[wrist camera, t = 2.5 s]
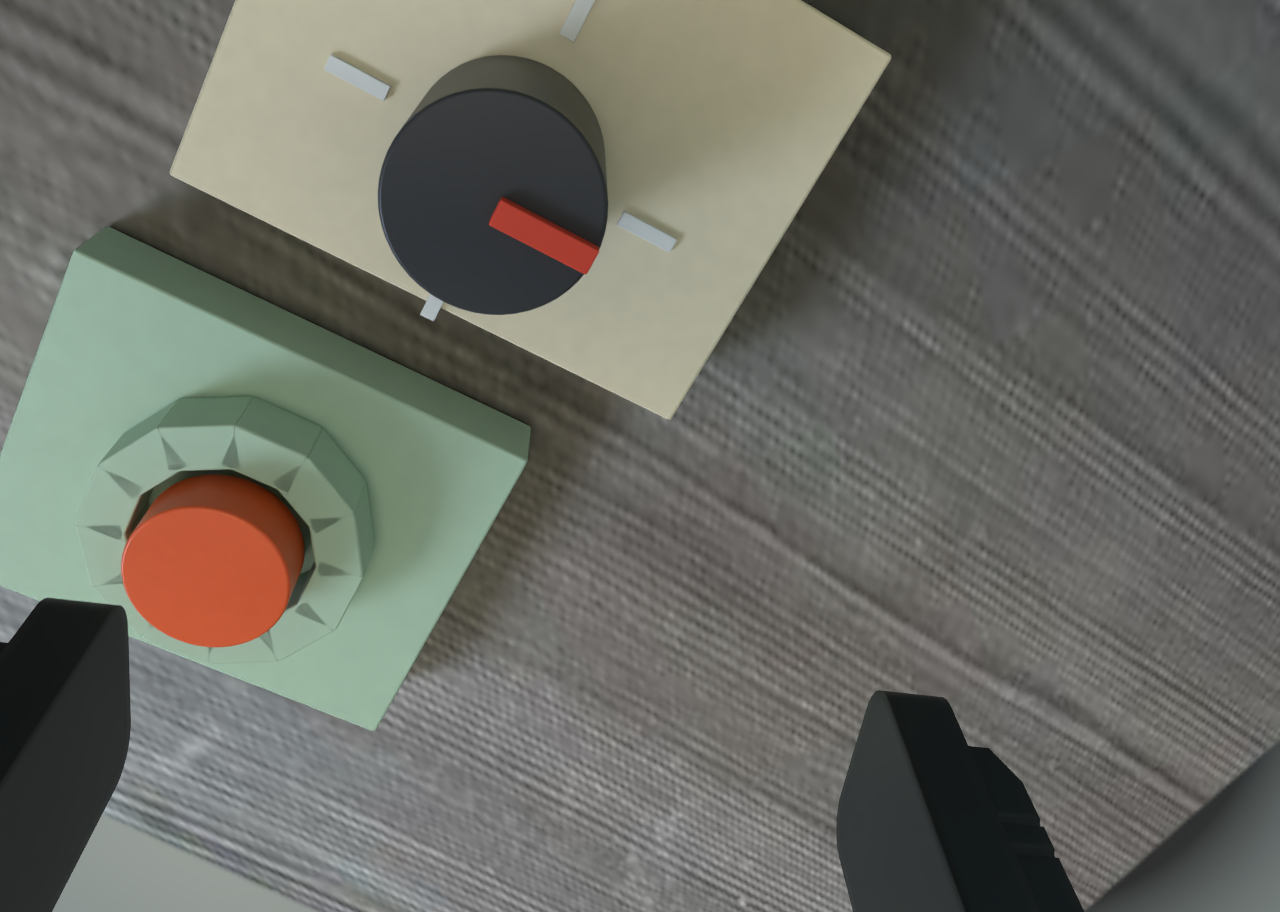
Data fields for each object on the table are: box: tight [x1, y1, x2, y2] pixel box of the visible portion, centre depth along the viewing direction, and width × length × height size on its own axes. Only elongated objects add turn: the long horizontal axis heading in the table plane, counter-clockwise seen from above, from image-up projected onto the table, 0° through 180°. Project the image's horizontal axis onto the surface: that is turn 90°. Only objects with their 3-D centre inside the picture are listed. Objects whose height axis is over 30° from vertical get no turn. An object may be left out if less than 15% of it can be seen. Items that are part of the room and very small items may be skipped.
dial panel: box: [170, 0, 891, 420], centre depth 28 cm, size 13×10×3 cm
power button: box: [121, 474, 305, 647], centre depth 30 cm, size 4×4×2 cm
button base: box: [0, 227, 531, 731], centre depth 32 cm, size 12×10×4 cm
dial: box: [378, 55, 608, 315], centre depth 25 cm, size 4×4×5 cm
